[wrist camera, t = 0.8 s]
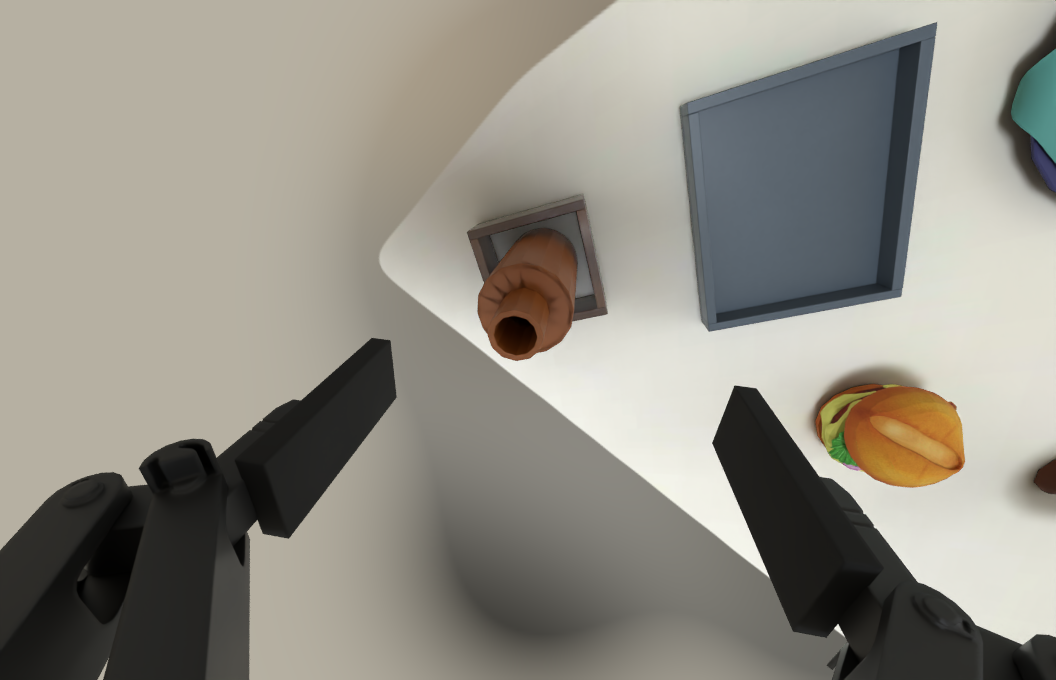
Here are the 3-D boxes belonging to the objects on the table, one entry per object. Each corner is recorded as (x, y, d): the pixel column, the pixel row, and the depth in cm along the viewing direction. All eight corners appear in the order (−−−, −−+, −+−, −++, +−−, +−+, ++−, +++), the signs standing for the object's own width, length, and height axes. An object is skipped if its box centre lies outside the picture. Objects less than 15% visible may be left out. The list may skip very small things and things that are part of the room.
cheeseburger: (799, 456, 44) (854, 512, 35) (802, 369, 42) (862, 402, 32) (901, 456, 42) (989, 515, 33) (910, 364, 40) (1008, 398, 30)
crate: (477, 224, 37) (466, 231, 34) (583, 193, 35) (583, 198, 31) (509, 320, 42) (502, 336, 38) (605, 299, 39) (607, 314, 35)
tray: (679, 106, 31) (687, 102, 29) (908, 32, 27) (937, 21, 25) (701, 321, 39) (708, 332, 36) (881, 287, 35) (901, 297, 33)
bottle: (501, 238, 38) (445, 297, 23) (568, 220, 36) (555, 270, 21) (520, 300, 40) (482, 390, 25) (583, 286, 39) (582, 373, 24)
